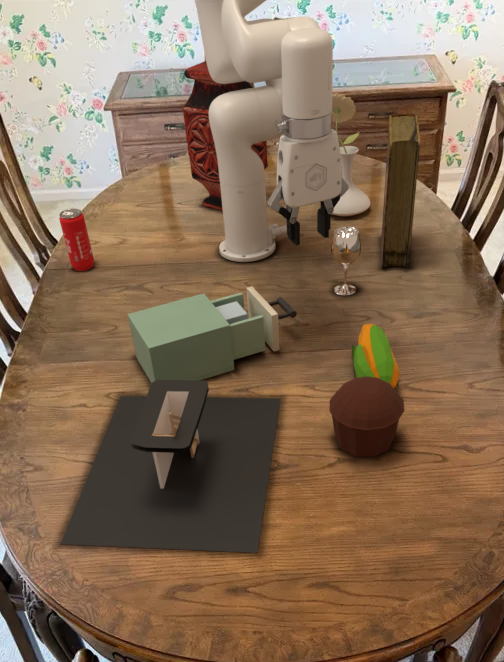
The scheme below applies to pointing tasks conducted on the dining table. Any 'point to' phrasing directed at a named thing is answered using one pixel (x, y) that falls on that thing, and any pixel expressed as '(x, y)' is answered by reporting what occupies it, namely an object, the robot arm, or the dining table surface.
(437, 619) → the dining table surface
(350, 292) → the wineglass
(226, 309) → the carton
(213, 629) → the dining table surface
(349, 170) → the flower in vase
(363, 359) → the corn
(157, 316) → the cabinet
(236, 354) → the drawer
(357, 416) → the muffin
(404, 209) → the book
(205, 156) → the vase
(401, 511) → the dining table surface
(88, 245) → the beverage can
